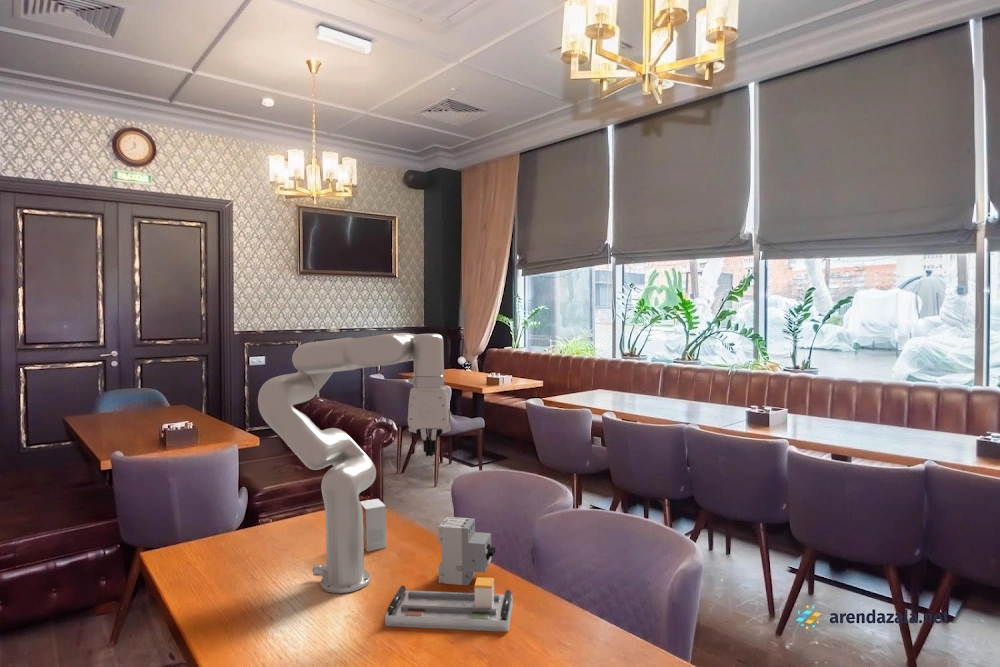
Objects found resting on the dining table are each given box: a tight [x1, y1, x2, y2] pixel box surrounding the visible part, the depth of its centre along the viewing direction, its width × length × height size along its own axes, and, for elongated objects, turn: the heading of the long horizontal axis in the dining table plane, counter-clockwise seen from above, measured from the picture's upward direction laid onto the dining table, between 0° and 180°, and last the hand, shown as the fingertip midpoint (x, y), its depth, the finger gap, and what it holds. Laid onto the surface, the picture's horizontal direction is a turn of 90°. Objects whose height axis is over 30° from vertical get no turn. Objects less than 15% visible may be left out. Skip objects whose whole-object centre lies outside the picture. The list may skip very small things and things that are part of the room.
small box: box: [360, 498, 387, 552], centre depth 178 cm, size 8×6×13 cm
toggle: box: [474, 576, 495, 609], centre depth 135 cm, size 4×4×6 cm
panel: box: [384, 585, 514, 633], centre depth 136 cm, size 28×12×4 cm, turn 84°
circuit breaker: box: [437, 516, 496, 586], centre depth 154 cm, size 8×14×15 cm, turn 78°
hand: (430, 454), depth 147 cm, fingers closed
